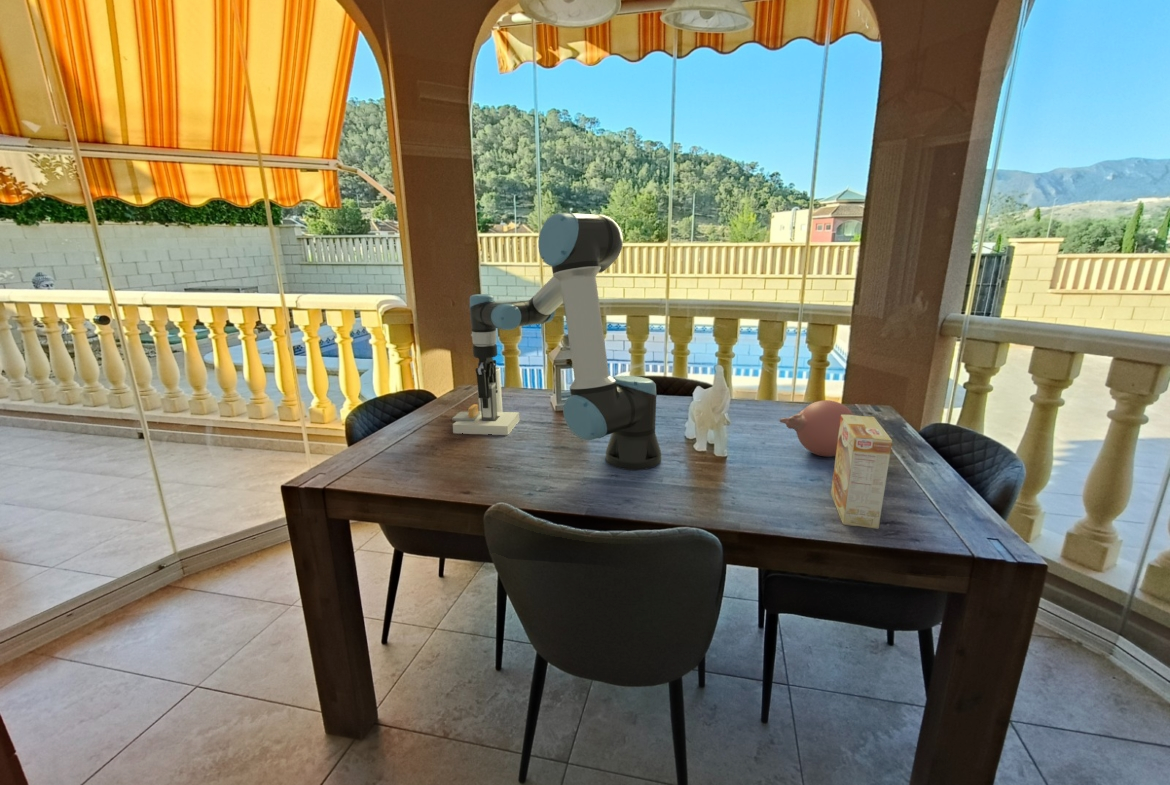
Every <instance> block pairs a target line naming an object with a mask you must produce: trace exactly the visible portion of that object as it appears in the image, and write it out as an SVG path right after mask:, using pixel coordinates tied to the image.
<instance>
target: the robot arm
mask: <svg viewBox="0 0 1170 785" xmlns="http://www.w3.org/2000/svg"><path fill="white" fill-rule="evenodd" d="M623 238H624V237H623V233H622V231H621V228H620V226H619V225H618V223H617V222H615V220H614V219H612V218H610V217H609V216H606V215H604V214H590V213H589V214H588V213H576V212H575V213H573V212H566V213H565V212H564V213H555V214H552V215H551V216H549V217H548V218H547V219H546V220H545V221H544V223H543V225H542V228H541V229H540V231H539V236H538V252H539V256H540V258H541V260H543V261H542V262H544V263H545V264H546V265H547V266H549V267H551V271H552V277H551V278H550V279H549V280H548V281H547V282H546V283H545V284H543V286H542V287H541V288H540V289H539V290H538V291H537V292H535V294H534V295H533V296H532V297H531V298H530V299H528V300H519V301H511V302H510V301H509V302H495V297H494V296H493V294H489V293H488V294H487V293H482V294H480V293H478V294H472V295H470V297H469V309H468V310H469V314H470V315H469V317H470V318H469V319H470V325H471V326H470V327H471V333H470V337H471V339H472V340H471V341H472V344H473V345H472V356H473V358H476V359H478V365H477V366H478V367H476V368H475V374H476V382H477V383H476V384H478V386H477V398H482V412H483V417H492V415H491V400H490V397H489V382H494V383H496V389H497V380H496V367H497V359H494V358H495V357H498V345H497V343H498V342H497V341H498V338H497V329H499V330H502V331H506V330H507V331H512V330H515V329H516V328H518V327H524V326H534V325H543V324H545V323H550V322H552V321H553V319H554V316H555V315H556V310H557V309H558V308H560V306H561V305H563V308H564V310H563V311H564V315H565V322H566V328H567V330H566V331H567V336H568V343H569V344H568V345H569V349H570V350H569V351H570V357H571V363H572V364H571V365H572V371H573V378H574V379H573V382H572V383H571V384H570V385H569V392H570V396H568V398H567V399H566V400H565V401H564V404H563V408H562V411H563V412H562V414H563V417H564V420H565V423H566V425H567V427H568V429H569V430H570V431H571V432H572V433H573V434H574V435H575V436H576V437H577V438H580V439H581V440H584V441H593V440H596V439H602V438H604V437H606V436H608V435H610V438H609V440H608V444H607V447H606V450H605V461H606V463H608V465H610V466H612V467H615V468H617V469H622V470H628V471H643V470H648V469H651V468H654V467H657V466H658V465H660V464H661V461H662V451H661V448H660V444H659V441H658V439H657V435H656V434H657V433H656V421H657V420H656V418H657V415H656V414H657V396H658V395H657V384H656V383H655V382H654V380H652V379H650V378H646V377H641V376H636V375H635V376H633V375H616V376H614V377H613V376H611V375H610V372H609V364H608V358H607V356H608V355H607V351H606V350H607V349H606V344H605V343H606V342H605V335H604V334H605V333H604V328H603V323H602V322H603V321H602V314H601V307H600V306H601V305H600V298H599V291H598V283H597V275H598V273H603V272H605V271H606V270H607V269H608V268H610V267H611V266H612V265H613V264H614V262H615V261H616V260H617V259H618V257H619V256H620V253H621V252H622V250H623V245H624V244H623V243H624V242H623ZM497 392H498V390H496V393H497Z"/></svg>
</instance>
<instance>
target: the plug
mask: <svg viewBox="0 0 1170 785" xmlns="http://www.w3.org/2000/svg"><path fill="white" fill-rule="evenodd" d="M489 397H490V400H491V415H492V417H483V412H482V398H480V401H481V415H482V421H495V420H496V419H497V418H498V417H497V402H496V383H494V382H489Z"/></svg>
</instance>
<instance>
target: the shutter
mask: <svg viewBox="0 0 1170 785" xmlns="http://www.w3.org/2000/svg"><path fill="white" fill-rule="evenodd" d="M467 410H468V411H459V412H457V413H456V415H454V416H453V417H452V418H451V419H452V421H455V422H456V421H474V420H475V419H476V418H477V417H478V416H479V415H480V412H478V411H479V403H478V404H472V405H471V406H469V407H468V409H467Z"/></svg>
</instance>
